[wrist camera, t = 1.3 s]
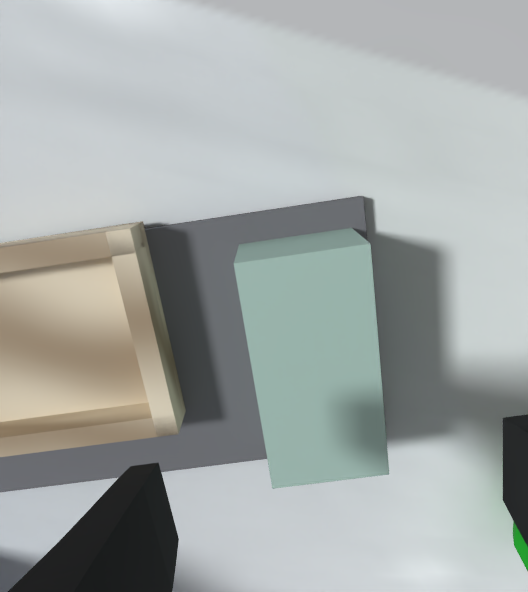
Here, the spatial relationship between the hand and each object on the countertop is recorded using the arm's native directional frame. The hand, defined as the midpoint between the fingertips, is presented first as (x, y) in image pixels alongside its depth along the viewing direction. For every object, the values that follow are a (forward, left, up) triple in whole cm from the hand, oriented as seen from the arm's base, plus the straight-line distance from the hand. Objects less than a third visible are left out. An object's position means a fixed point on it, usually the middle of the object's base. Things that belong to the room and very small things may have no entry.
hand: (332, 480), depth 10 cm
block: (0, 0, -8) cm, 8 cm away
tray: (+1, +11, -8) cm, 14 cm away
